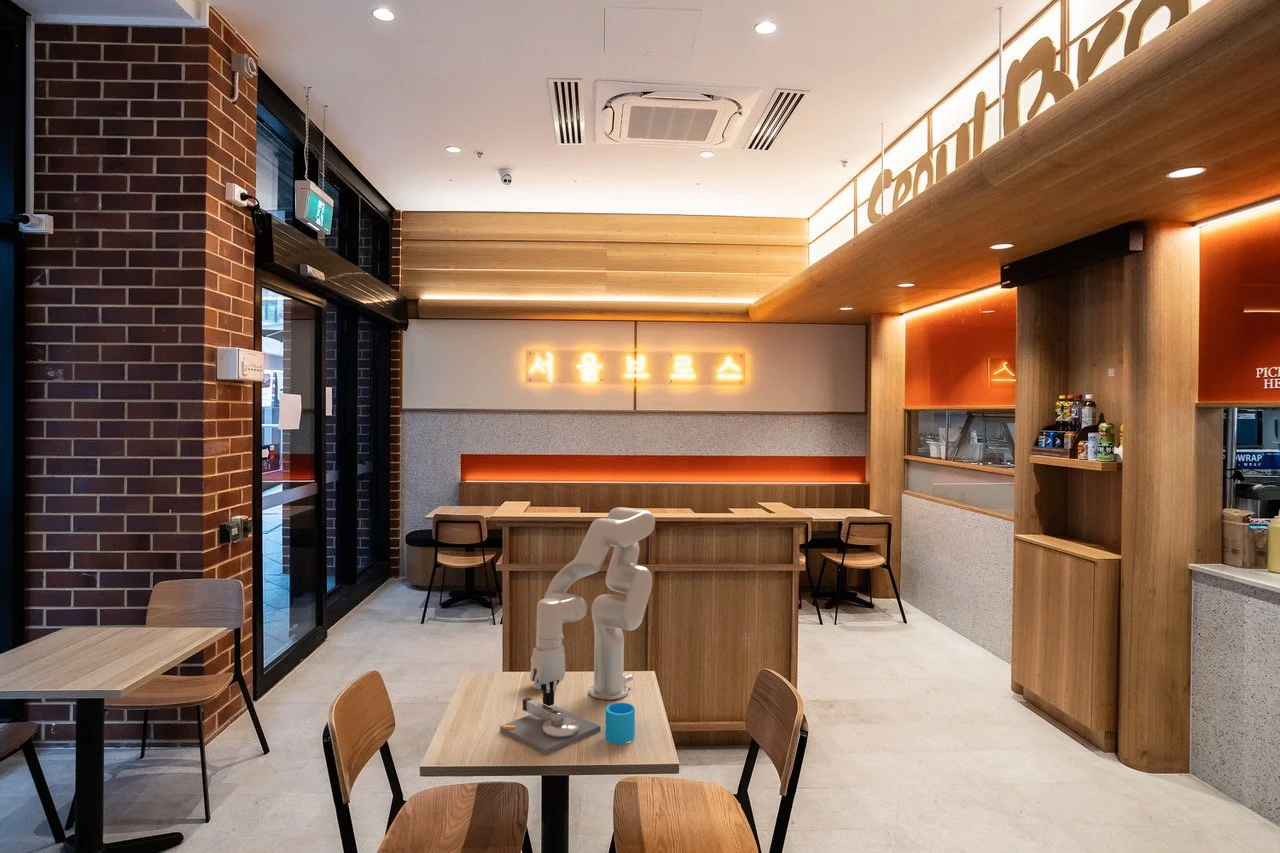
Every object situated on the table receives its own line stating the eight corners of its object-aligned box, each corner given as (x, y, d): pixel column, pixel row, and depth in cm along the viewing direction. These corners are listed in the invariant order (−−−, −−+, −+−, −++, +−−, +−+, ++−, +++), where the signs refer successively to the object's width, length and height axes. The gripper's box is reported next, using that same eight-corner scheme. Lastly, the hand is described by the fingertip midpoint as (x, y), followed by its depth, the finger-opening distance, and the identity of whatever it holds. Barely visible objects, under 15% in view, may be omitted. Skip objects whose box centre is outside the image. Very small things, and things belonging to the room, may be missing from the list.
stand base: (554, 710, 213) (554, 703, 213) (600, 731, 200) (600, 723, 200) (499, 731, 199) (499, 724, 199) (544, 755, 185) (544, 747, 185)
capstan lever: (538, 708, 211) (538, 693, 211) (586, 730, 197) (586, 714, 196) (511, 718, 204) (511, 702, 203) (558, 742, 189) (558, 725, 189)
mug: (634, 744, 192) (634, 715, 192) (604, 744, 192) (604, 714, 192) (635, 725, 204) (636, 697, 204) (607, 724, 204) (608, 696, 204)
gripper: (560, 633, 214) (559, 693, 214) (520, 644, 203) (519, 707, 203) (576, 639, 209) (575, 700, 209) (537, 650, 198) (536, 715, 198)
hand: (548, 704), depth 206 cm, fingers closed
